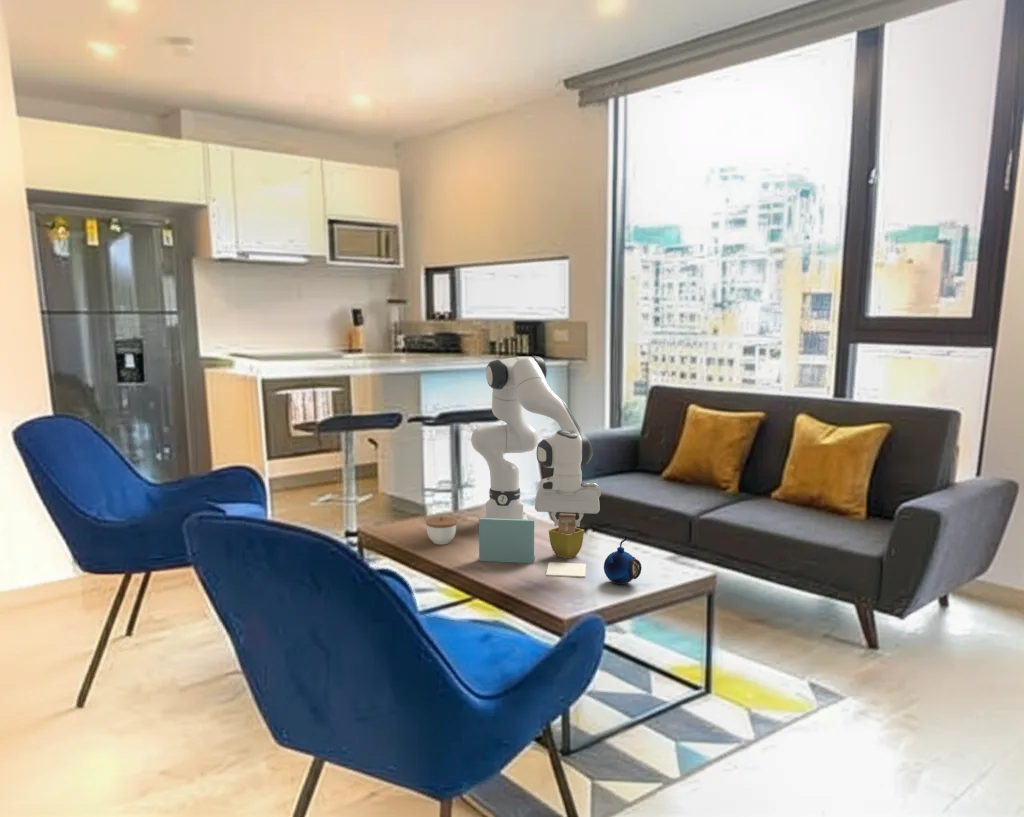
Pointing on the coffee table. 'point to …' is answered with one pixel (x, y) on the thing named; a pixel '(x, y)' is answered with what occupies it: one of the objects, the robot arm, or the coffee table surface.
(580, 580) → the coffee table surface
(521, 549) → the screen
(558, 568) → the pad
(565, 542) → the flower pot
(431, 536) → the lidded jar
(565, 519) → the brown block
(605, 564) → the bomb
